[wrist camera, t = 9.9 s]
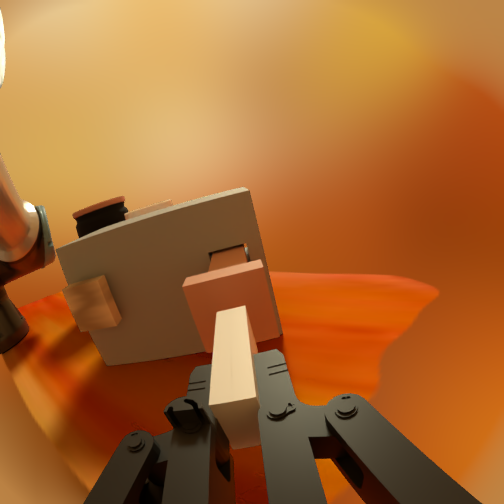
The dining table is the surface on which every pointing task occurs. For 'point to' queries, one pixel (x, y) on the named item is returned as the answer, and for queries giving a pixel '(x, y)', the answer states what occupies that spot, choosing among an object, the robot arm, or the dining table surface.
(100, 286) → the pale plunger
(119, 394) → the dining table surface
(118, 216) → the coffee jar
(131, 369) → the dining table surface
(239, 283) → the terracotta plunger
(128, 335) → the wall block
